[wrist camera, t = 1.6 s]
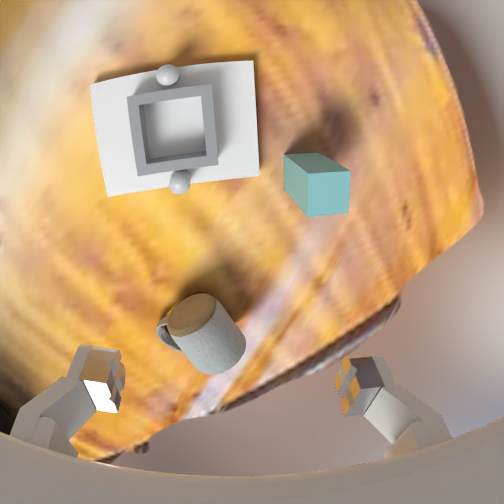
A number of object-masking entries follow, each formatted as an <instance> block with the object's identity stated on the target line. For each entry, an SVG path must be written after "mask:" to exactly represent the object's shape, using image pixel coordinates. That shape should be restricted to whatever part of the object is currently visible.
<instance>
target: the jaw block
mask: <svg viewBox="0 0 504 504" xmlns="http://www.w3.org/2000/svg"><path fill="white" fill-rule="evenodd" d="M283 157H284V190H285V191H286V192H287V193H288V194H289V196H290V197H291V198H292V199H293V200H294V201H295V203H296V204H297V205H298V206H299V207H300V209H301V210H302V211H303V212H304V213H305V215H306V216H307V217H314V216H324V215H333V214H343V213H348V209H349V194H350V176H351V171H350V170H348V169H346V168H345V167H343V166H341V165H340V164H338V163H336V162H334V161H333V160H331V159H329V158H328V157H326V156H324V155H322V154H320V153H319V152H316V153H297V154H283Z"/></svg>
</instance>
